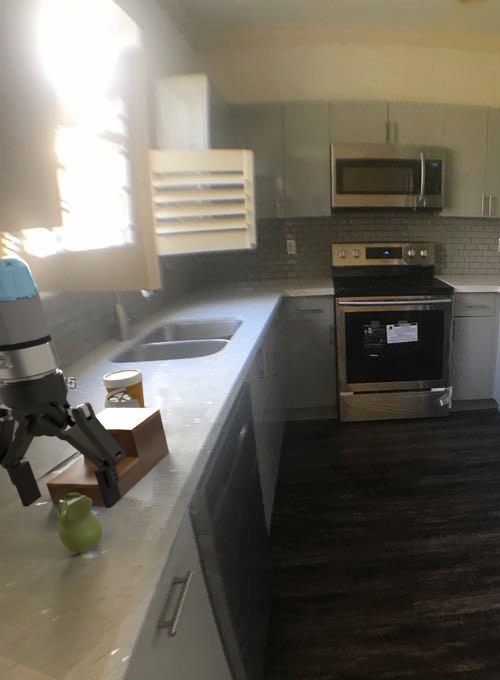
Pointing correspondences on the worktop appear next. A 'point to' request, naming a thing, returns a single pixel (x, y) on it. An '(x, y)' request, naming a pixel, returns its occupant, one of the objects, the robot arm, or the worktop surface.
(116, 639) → the worktop surface
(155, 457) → the wooden step stand
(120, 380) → the disposable coffee cup
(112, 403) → the food container
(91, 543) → the pear
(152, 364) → the worktop surface
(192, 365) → the worktop surface
